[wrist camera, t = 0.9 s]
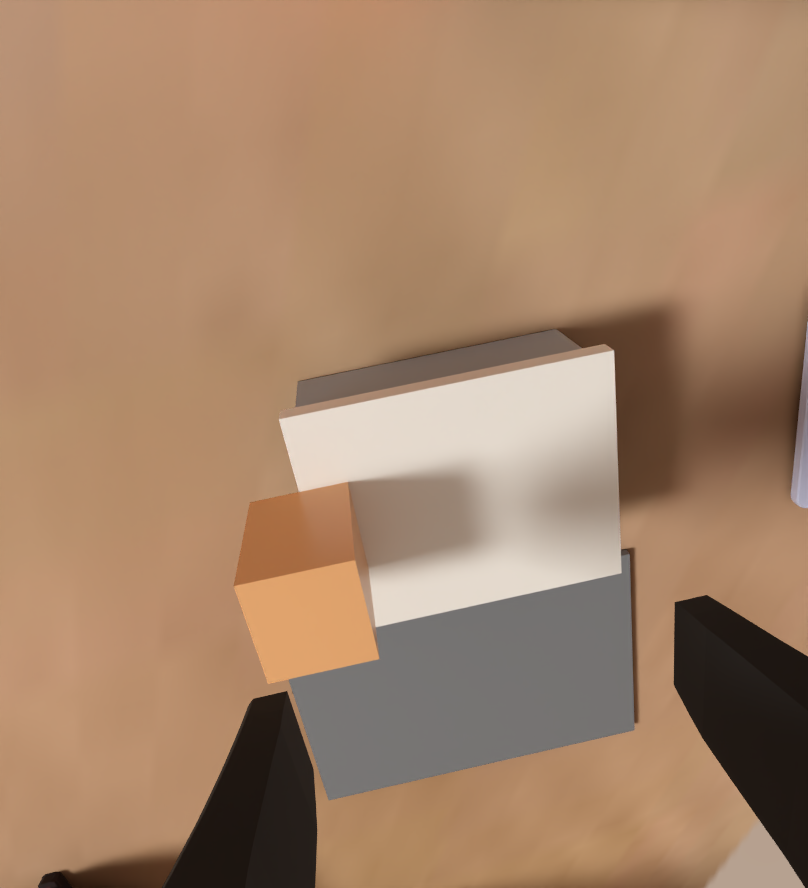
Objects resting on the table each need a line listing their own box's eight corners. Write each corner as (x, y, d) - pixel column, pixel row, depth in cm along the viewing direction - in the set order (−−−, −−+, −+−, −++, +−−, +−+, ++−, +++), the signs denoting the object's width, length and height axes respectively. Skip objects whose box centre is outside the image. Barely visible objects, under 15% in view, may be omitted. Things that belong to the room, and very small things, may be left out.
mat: (626, 549, 23) (629, 554, 23) (631, 724, 27) (634, 730, 27) (273, 626, 23) (272, 632, 23) (328, 793, 27) (328, 800, 26)
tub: (556, 328, 20) (594, 356, 17) (568, 506, 22) (603, 555, 20) (297, 381, 19) (294, 418, 17) (342, 555, 22) (346, 611, 19)
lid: (597, 338, 17) (688, 399, 13) (606, 552, 20) (683, 658, 16) (232, 413, 17) (203, 500, 13) (296, 620, 20) (290, 747, 16)
